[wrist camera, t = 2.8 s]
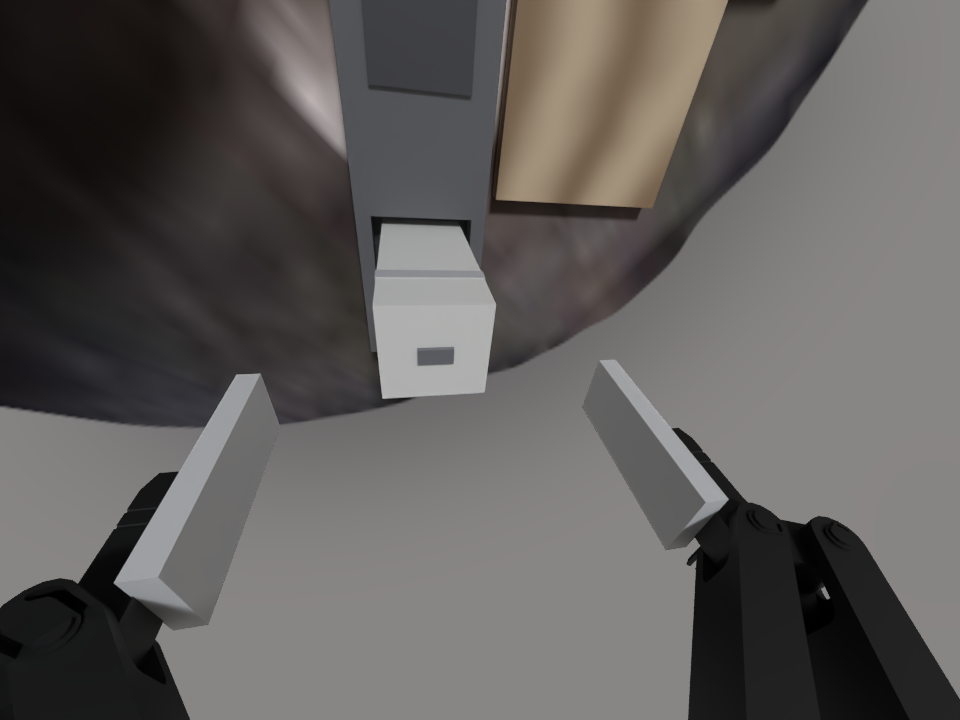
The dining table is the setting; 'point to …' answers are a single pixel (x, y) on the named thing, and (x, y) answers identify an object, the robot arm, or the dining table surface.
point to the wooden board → (598, 97)
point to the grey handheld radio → (417, 114)
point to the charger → (430, 311)
